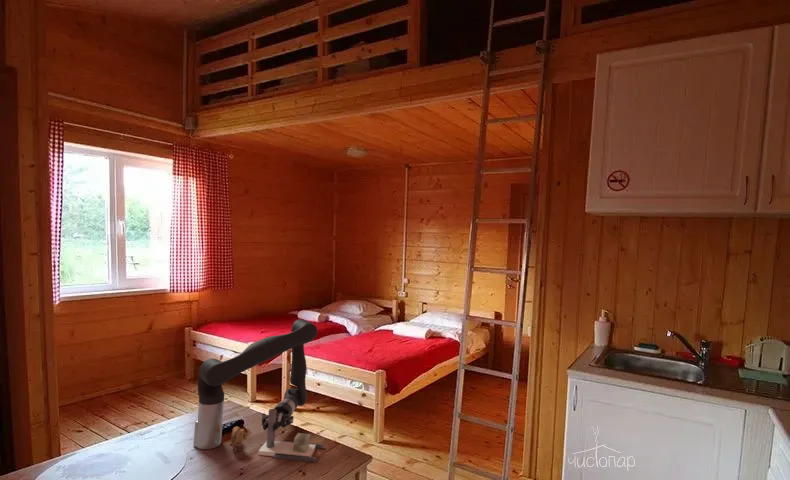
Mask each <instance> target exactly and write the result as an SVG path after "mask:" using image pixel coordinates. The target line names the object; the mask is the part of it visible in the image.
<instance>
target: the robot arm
mask: <svg viewBox="0 0 790 480" xmlns="http://www.w3.org/2000/svg"><path fill="white" fill-rule="evenodd" d="M317 335H318V327H317V326H316V325H315V324H314V323H313V322H311V321H308V320H306V319H302V318H299V319H296V320H295V321H294V322H293V324H292V326H291V332H289V333H283V334H278V335H272V336H267V337H264V338H262V339H260V340H257V341H254V342H252V343H251V344H250V345H248V346H247V347H245V349H243V350H242V352H241V353H238V355H236V356H234V357H231V358H229V359H227V360H223V361H221V360H220V359H218V358H212V357H211V358H208V359H206V360H205V361H203V362H202V364H201V365H200V366H199V370H198V375H197V376H198V377H197V378H198V379H197V394H198V395H197V396H198V407H197V408H198V411H197V420H196V421H194V422H195V423H194V434H193V447H195V448H197V449H199V450H212V449H215V448H217V447H219V446H220V445H221V444H222V436H223V433H222V432H223V420H224V419H223V418H224V406H225V405H224V404H225V392H224V390H223V384H225V383H226V382H228V381H230V380H231V379H233V378H235V377H236V376H238V375H240V374H241V373H243V372H245V371H248V370H249V369H252V368H255V366H258V365H260V364H262V363H263V364H264V363H265V362H267V361H269V360H271V359H273V358H275V357H277V356H279V355H281V354H283V353H285V352H287V351H289V350H291V367H290V368H291V369H290V376H289V383H290V385H292V386H294V387H296V388H293V387H291V388H290V387H289V388H287V389H286V390H285V392H284V395H283V399H281V401H279V402H278V403H277V404H276V406H275V407H274V408H273V409H276V410H277V414H276V423H275V424H274V425H273V431H275V432H276V430H278V429H280V428H285V427H288V426H290V425H292V424H293V423H294V415H293V414H294V411H295V410H296V409H297V407H298V406H299V407H302V406H304V405H305V404H306V402H307V400H308V393H307V392H308V391H307V386H306V378H307V377H306V376H307V360H306V355H305V344H308V343H310V342H311V341H313V340H314V339H315V338H316V336H317ZM268 415H269V414H266V413H263V412H262V414H261V425H262V429H263V431H266V430H268Z"/></svg>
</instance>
